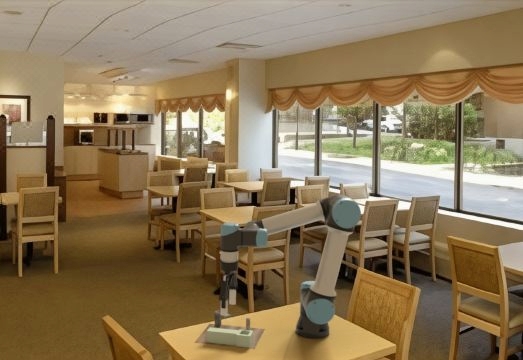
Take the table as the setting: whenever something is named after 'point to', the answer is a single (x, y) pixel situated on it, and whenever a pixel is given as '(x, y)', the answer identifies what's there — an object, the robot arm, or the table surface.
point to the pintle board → (256, 331)
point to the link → (230, 337)
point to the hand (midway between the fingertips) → (228, 309)
